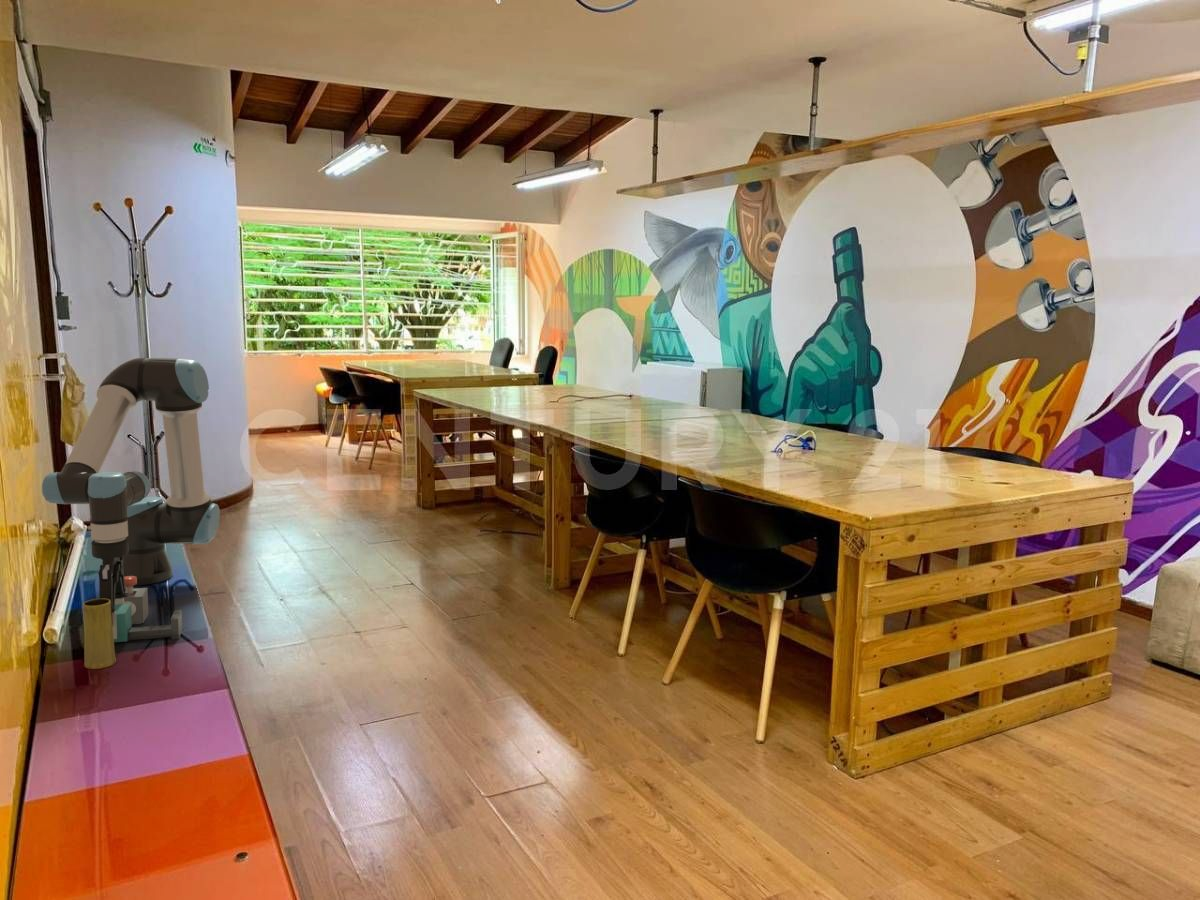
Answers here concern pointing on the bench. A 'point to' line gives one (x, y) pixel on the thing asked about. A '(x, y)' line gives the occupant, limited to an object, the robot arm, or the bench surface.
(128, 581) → the red ball knob
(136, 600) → the grey cube housing
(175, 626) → the rail
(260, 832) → the bench surface
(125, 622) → the block
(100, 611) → the vase
